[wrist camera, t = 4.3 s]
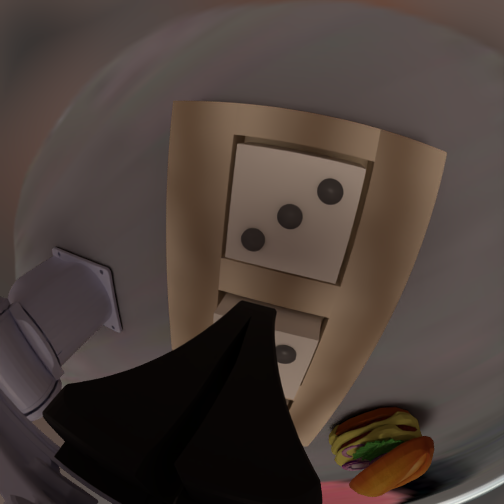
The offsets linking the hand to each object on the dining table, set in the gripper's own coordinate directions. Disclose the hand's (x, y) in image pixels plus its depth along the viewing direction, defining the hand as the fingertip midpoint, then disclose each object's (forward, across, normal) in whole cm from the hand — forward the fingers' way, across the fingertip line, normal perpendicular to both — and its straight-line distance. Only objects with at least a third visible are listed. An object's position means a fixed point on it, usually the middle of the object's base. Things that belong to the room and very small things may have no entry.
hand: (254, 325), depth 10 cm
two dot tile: (+6, 0, +6) cm, 9 cm away
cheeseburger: (+9, -15, +18) cm, 25 cm away
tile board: (+8, 0, +6) cm, 10 cm away
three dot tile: (+7, 0, -3) cm, 8 cm away
